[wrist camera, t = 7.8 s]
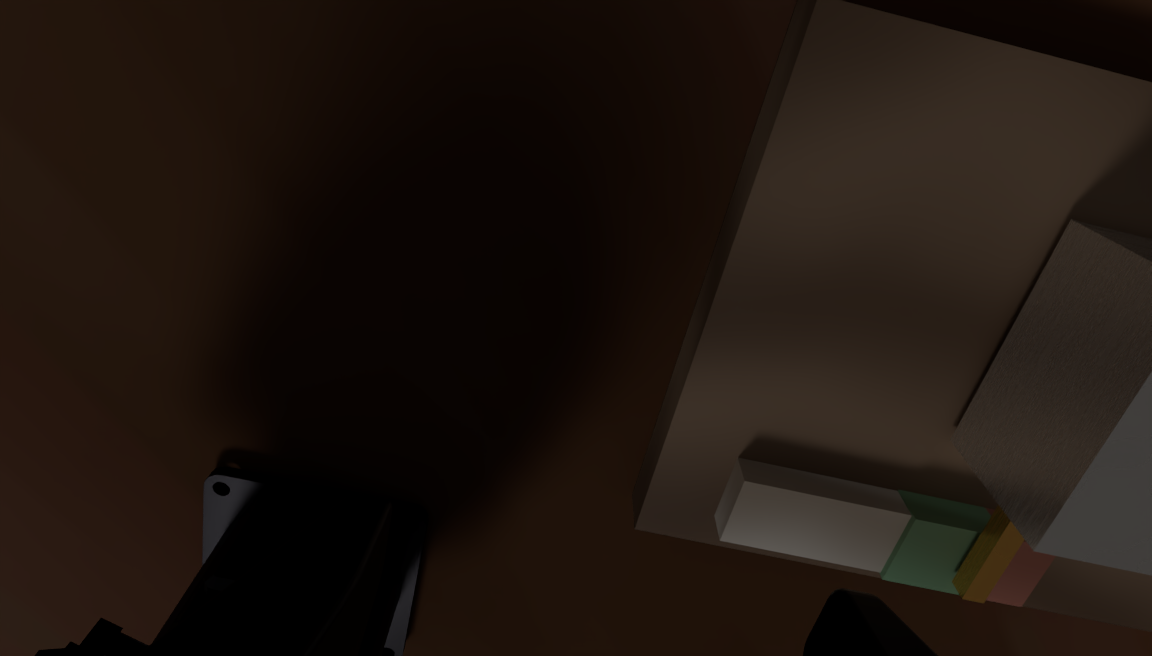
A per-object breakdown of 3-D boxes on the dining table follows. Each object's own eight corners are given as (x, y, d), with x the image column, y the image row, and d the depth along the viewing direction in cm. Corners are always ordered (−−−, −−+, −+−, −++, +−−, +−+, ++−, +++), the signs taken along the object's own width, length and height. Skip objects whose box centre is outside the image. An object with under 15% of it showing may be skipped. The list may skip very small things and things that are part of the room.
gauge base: (1124, 594, 23) (1265, 762, 19) (631, 494, 22) (643, 646, 17) (1449, 162, 17) (1787, 241, 12) (800, -8, 16) (891, 3, 11)
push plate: (994, 564, 21) (1079, 689, 17) (893, 543, 20) (957, 666, 17) (1194, 249, 17) (1360, 327, 13) (1071, 219, 16) (1205, 290, 13)
